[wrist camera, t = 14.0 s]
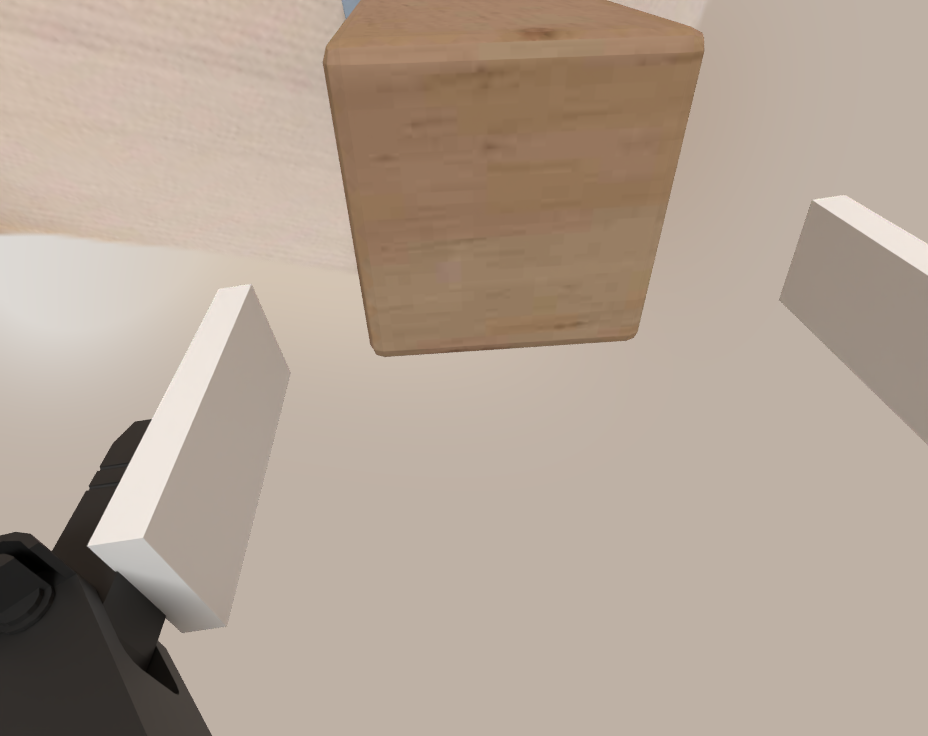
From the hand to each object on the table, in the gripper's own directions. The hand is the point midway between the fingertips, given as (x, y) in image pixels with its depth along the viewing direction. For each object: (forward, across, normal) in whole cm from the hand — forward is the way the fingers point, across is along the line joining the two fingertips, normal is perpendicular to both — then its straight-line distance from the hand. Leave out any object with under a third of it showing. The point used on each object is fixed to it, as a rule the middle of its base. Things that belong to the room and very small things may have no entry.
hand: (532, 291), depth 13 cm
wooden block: (+24, 0, 0) cm, 24 cm away
